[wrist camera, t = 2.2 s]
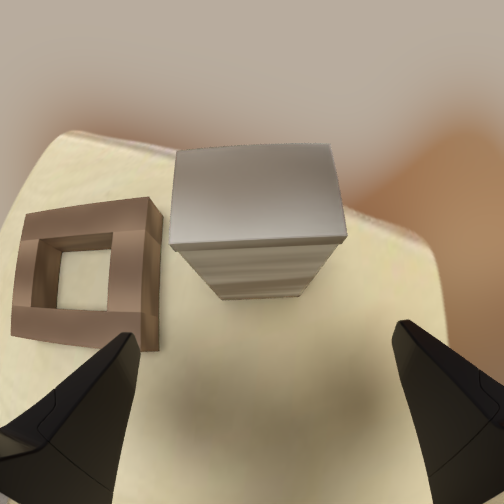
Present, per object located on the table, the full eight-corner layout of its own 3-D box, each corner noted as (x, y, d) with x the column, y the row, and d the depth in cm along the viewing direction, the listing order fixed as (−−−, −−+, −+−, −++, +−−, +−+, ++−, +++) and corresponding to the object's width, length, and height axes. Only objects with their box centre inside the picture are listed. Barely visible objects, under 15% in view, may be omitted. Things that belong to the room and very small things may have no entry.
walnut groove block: (158, 350, 20) (140, 351, 17) (36, 338, 20) (10, 335, 17) (163, 216, 23) (148, 196, 20) (47, 228, 23) (26, 214, 20)
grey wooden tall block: (299, 297, 21) (347, 235, 9) (221, 300, 21) (168, 243, 9) (295, 249, 22) (330, 143, 10) (220, 252, 22) (176, 150, 10)
